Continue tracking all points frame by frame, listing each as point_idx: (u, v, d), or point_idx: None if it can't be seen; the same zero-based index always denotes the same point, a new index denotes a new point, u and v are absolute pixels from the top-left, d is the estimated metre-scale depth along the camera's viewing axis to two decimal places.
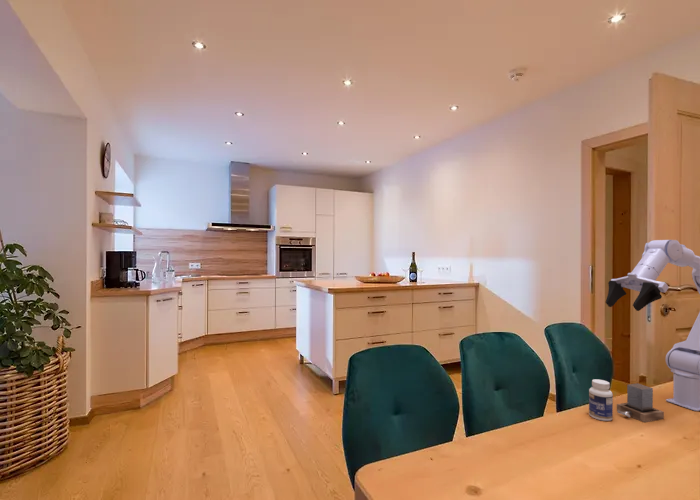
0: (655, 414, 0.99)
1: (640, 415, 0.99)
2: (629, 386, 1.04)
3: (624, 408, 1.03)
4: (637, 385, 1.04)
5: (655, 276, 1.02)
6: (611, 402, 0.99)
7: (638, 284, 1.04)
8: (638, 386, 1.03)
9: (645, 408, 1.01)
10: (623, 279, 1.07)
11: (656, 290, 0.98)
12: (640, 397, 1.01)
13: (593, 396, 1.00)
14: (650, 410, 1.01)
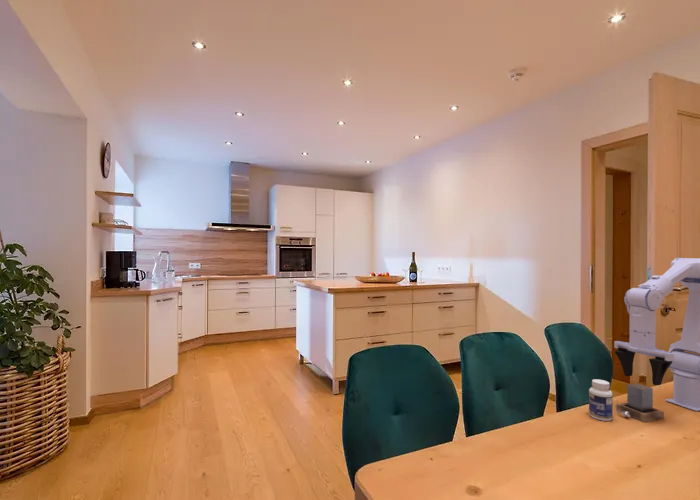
0: (655, 414, 0.99)
1: (640, 415, 0.99)
2: (629, 386, 1.04)
3: (624, 408, 1.03)
4: (637, 385, 1.04)
5: (653, 338, 1.01)
6: (611, 402, 0.99)
7: None
8: (638, 386, 1.03)
9: (645, 408, 1.01)
10: (626, 347, 1.06)
11: (665, 362, 0.97)
12: (640, 397, 1.01)
13: (593, 396, 1.00)
14: (650, 410, 1.01)
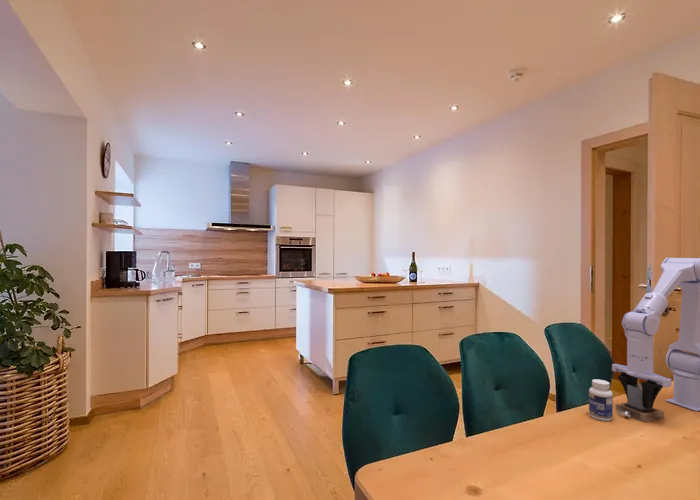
0: (655, 414, 0.99)
1: (640, 415, 0.99)
2: (629, 386, 1.04)
3: (624, 408, 1.03)
4: (637, 385, 1.04)
5: (651, 363, 1.00)
6: (611, 402, 0.99)
7: None
8: (638, 386, 1.03)
9: (645, 408, 1.01)
10: (624, 371, 1.05)
11: (656, 386, 0.99)
12: (640, 397, 1.01)
13: (593, 396, 1.00)
14: (650, 410, 1.01)
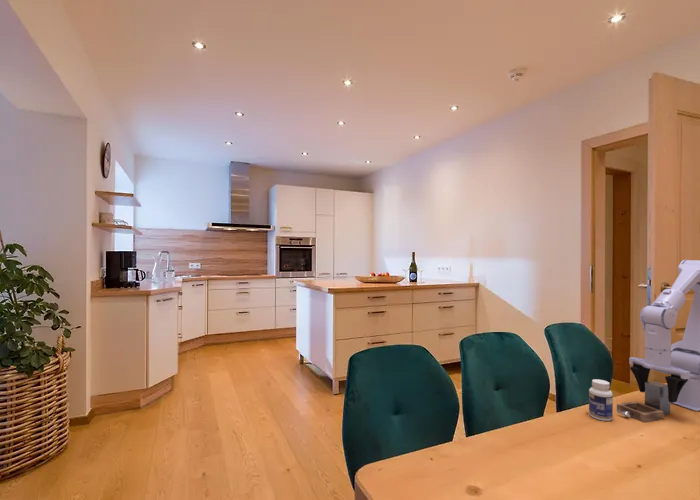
0: (655, 414, 0.99)
1: (640, 415, 0.99)
2: (647, 384, 1.06)
3: (624, 408, 1.03)
4: (654, 383, 1.06)
5: (669, 356, 1.02)
6: (611, 402, 0.99)
7: None
8: (656, 384, 1.05)
9: (663, 405, 1.03)
10: (642, 364, 1.07)
11: (681, 380, 0.99)
12: (657, 395, 1.03)
13: (593, 396, 1.00)
14: (668, 407, 1.03)
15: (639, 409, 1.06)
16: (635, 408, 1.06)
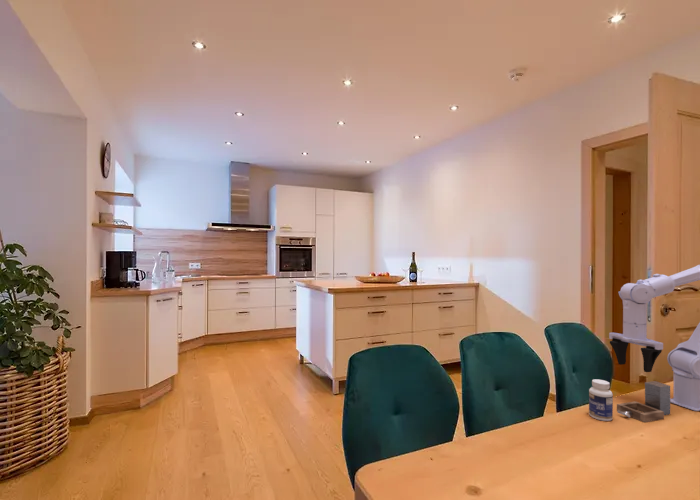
0: (655, 414, 0.99)
1: (640, 415, 0.99)
2: (647, 384, 1.06)
3: (624, 408, 1.03)
4: (655, 383, 1.06)
5: (644, 329, 1.10)
6: (611, 402, 0.99)
7: None
8: (656, 384, 1.05)
9: (663, 405, 1.03)
10: (620, 338, 1.14)
11: (655, 351, 1.06)
12: (657, 395, 1.03)
13: (593, 396, 1.00)
14: (668, 407, 1.03)
15: (639, 409, 1.06)
16: (635, 408, 1.06)
